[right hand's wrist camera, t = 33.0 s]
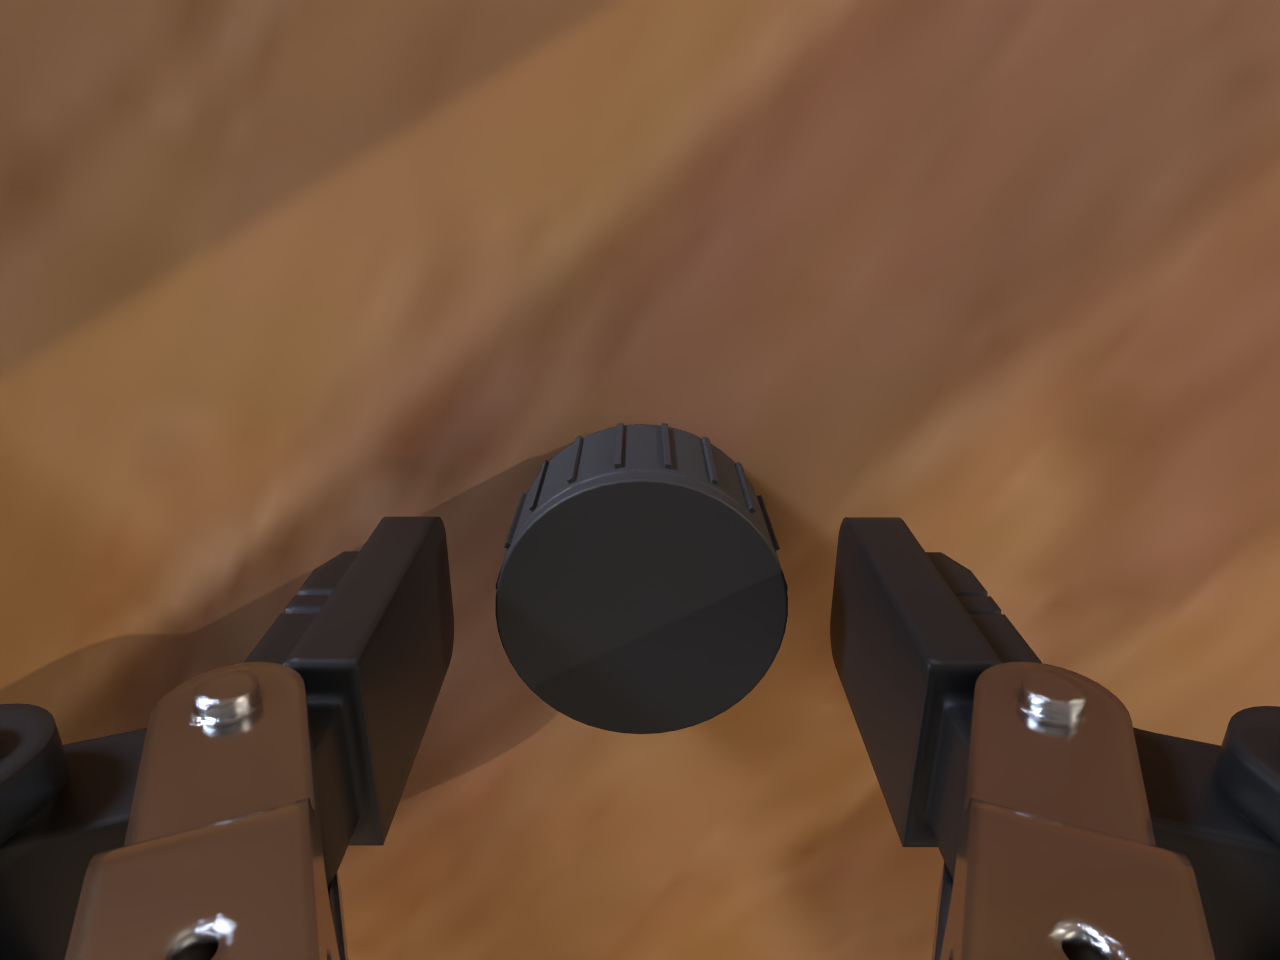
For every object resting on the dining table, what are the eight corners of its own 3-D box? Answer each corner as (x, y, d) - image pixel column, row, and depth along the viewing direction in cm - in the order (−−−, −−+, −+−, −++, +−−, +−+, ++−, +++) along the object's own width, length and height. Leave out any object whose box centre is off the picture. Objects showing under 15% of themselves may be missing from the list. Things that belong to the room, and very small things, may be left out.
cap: (817, 561, 13) (851, 640, 11) (619, 688, 14) (615, 784, 12) (667, 366, 12) (673, 413, 10) (463, 519, 13) (428, 591, 11)
